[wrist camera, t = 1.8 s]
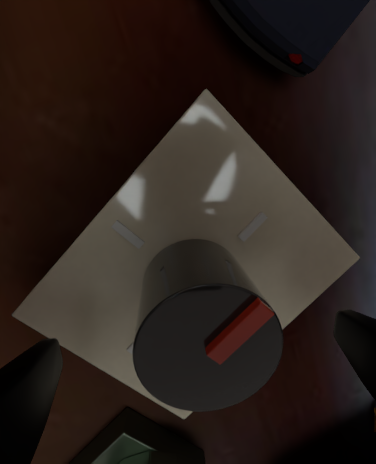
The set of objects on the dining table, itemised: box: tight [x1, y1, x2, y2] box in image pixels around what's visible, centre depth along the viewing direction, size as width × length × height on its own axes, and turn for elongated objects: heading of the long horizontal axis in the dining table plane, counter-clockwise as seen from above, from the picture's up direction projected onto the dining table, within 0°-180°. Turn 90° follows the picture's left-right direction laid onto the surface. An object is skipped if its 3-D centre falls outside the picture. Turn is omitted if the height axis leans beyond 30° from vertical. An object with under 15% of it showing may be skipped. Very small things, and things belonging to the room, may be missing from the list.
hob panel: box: [12, 89, 360, 419], centre depth 12 cm, size 12×10×3 cm
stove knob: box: [132, 239, 283, 412], centre depth 9 cm, size 4×4×4 cm
